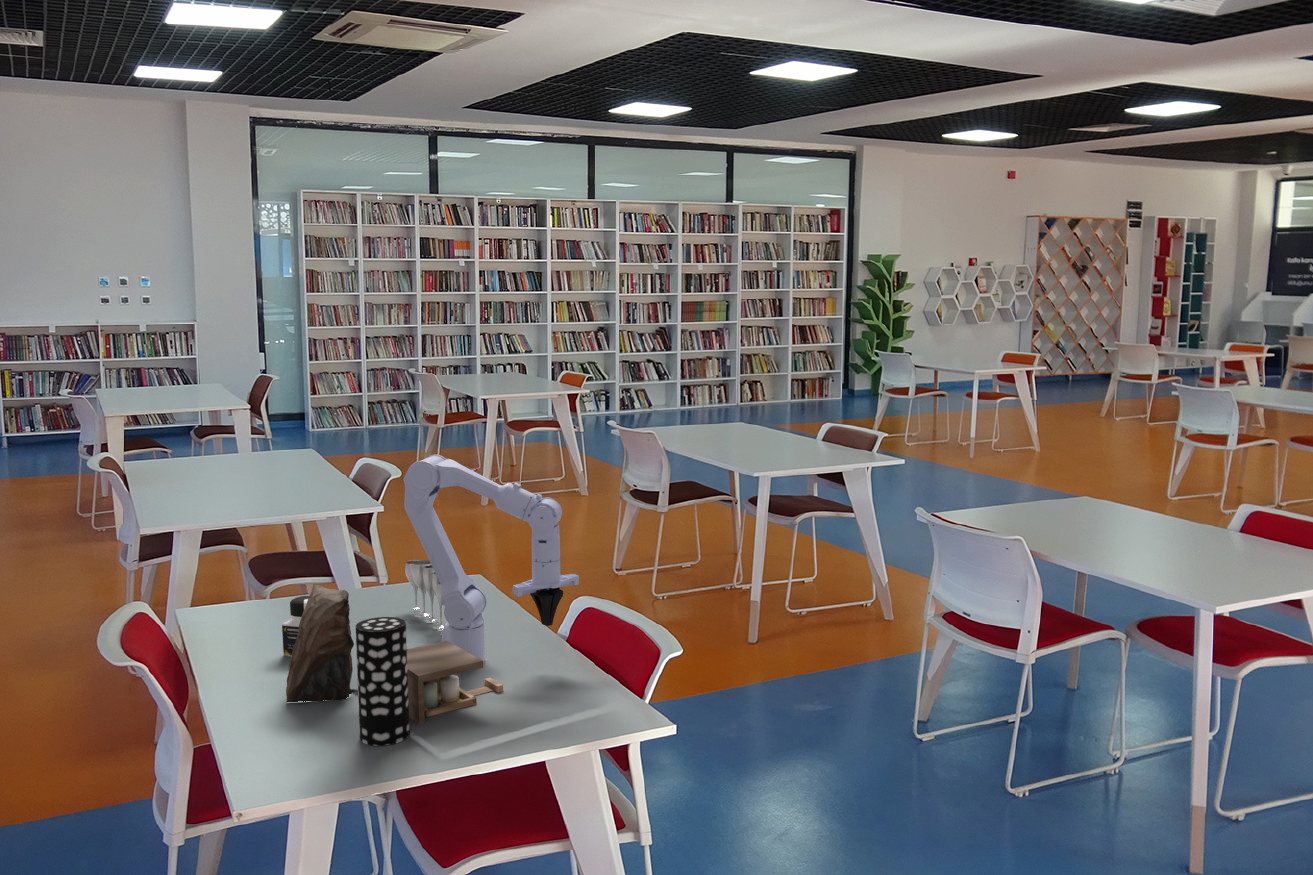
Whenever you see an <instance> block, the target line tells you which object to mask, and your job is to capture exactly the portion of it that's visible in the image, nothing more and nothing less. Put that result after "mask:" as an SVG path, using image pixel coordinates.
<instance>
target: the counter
mask: <svg viewBox="0 0 1313 875" xmlns="http://www.w3.org/2000/svg"><path fill="white" fill-rule="evenodd" d="M482 668H484V662H483V660H481V659H479V658H477V657H476V656H474V655H472V654H470V653H468V652H467V651H465V650H463V649H461V648H459V647H457V646H456V645H454V644H452V643H450V642H448V641H442V640H441V641H439V642H434V643H429V644H425V645H420V646H416V647H411V648H407V673H408V702H409V719H411V720H413V721H414V722H416V723H417V724H418V725H421V724H425V723H426V722H425V715H424V687H423V682H425V681H435V682H437V686H440V678H442V677H446V676H450V675H458V674H462V673H466V672H471V671H475V670H478V669H482Z"/></svg>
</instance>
